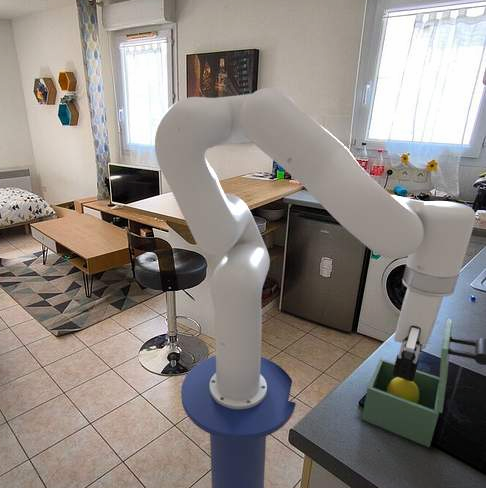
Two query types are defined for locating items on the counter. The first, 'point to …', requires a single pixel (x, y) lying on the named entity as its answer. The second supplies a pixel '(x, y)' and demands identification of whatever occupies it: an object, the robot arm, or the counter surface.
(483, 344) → the lid
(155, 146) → the robot arm
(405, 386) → the lemon
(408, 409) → the box
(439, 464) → the counter surface
